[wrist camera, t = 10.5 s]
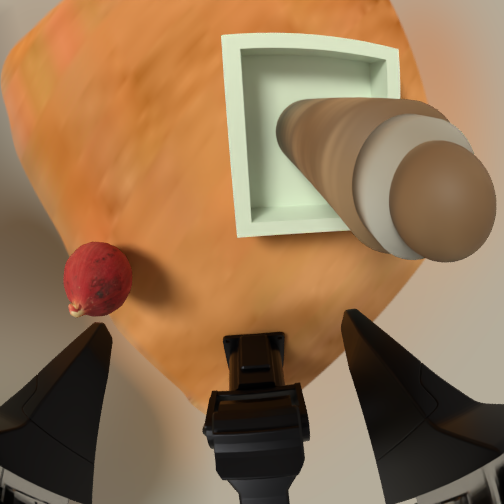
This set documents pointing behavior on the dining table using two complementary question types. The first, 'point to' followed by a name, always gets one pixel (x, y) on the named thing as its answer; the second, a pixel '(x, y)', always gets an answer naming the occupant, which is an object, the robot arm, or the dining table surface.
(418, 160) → the pepper mill
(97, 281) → the pomegranate
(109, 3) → the dining table surface
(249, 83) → the serving tray
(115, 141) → the dining table surface
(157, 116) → the dining table surface
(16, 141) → the dining table surface
